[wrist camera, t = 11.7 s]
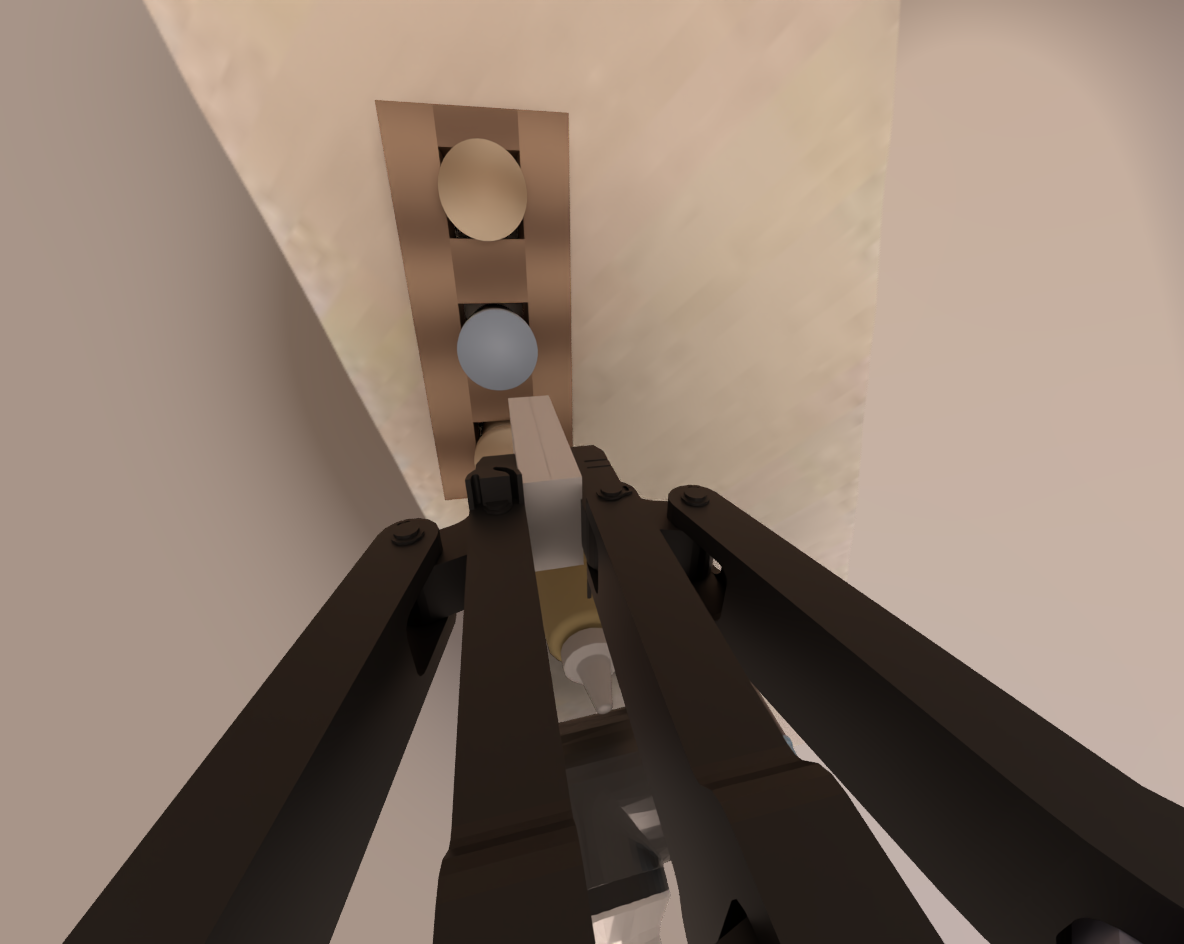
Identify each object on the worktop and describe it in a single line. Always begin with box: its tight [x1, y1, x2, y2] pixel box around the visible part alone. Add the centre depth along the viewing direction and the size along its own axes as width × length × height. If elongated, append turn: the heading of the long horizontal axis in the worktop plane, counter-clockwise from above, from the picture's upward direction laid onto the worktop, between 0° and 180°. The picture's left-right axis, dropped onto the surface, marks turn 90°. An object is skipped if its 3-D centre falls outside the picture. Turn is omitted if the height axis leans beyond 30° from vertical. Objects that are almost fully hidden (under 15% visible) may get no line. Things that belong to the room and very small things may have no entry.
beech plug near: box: [438, 138, 527, 241], centre depth 26 cm, size 5×5×7 cm
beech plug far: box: [474, 420, 514, 468], centre depth 34 cm, size 5×5×7 cm
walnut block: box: [375, 100, 573, 500], centre depth 31 cm, size 24×10×6 cm, turn 0°
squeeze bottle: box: [535, 551, 615, 714], centre depth 38 cm, size 8×8×18 cm
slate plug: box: [457, 303, 538, 390], centre depth 28 cm, size 5×5×7 cm
